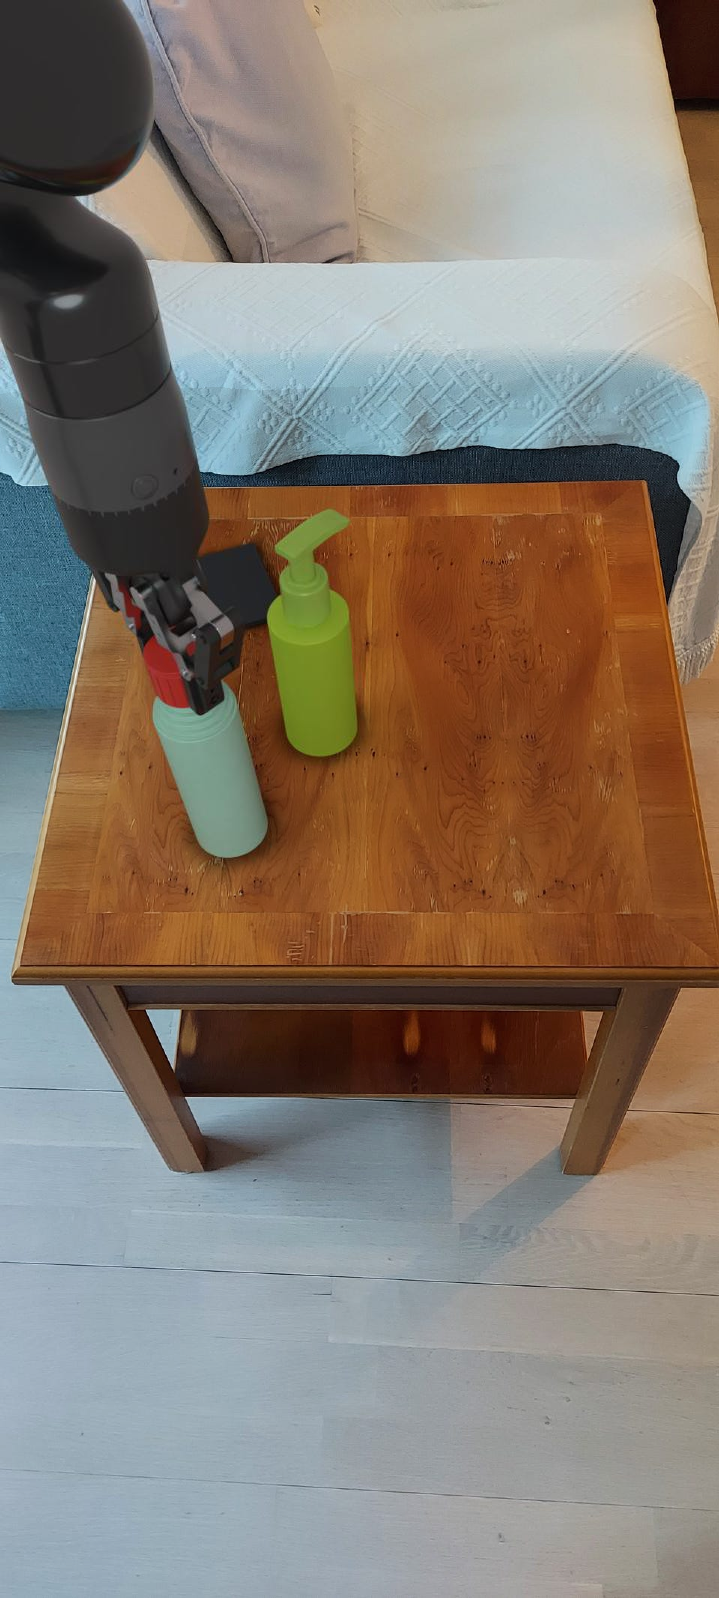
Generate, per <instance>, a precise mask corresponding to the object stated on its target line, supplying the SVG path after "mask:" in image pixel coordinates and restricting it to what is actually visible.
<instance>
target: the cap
mask: <svg viewBox="0 0 719 1598" xmlns="http://www.w3.org/2000/svg"><path fill="white" fill-rule="evenodd" d="M174 627H175V626H173V627H169V630H171V629H172V628H174ZM187 653H188V655H189V656H190V655H192V654H193V653H195V641H193V642H192V643H190V644H189V645H188V646H187ZM143 657H144V658H143ZM142 658H143V661H144V660H145V661H144V664H145V667H146V670H147V673H148V675H149V678H150V681H151V684H152V687H153V690H154V692H155V695H156V697H159V699H160V700H161V701H162V702H163V703H165V704H166V705H168V706H171V707H175V708H189V707H190V706H189V702H188V699H187V695H186V692H185V689H184V685H183V682H182V679H181V675H180V672H179V669H178V667H177V664H176V662H175V660H174V657H173V655H172V653H171V652H170V651H168V650H167V649H165V648H163V647H162V646H160V645H159V644H158V641H157V639H156V637H155V635H154V636H153V637H151V638H150V639H149V640H148V642H147V643H146V645H145V648H144V652H143V655H142Z"/></svg>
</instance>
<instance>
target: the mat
mask: <svg viewBox="0 0 719 1598" xmlns="http://www.w3.org/2000/svg"><path fill="white" fill-rule="evenodd" d="M197 561H198V562H199V565H200V567H201V570H202V572H203V575H204V576H205V578H206V581H207V584H208V594H207V597H208V598H209V599H210V600H211V601H212V602H213V603H214V604H215V606H216V607H217V608H218V609H219V610H220V611H221V612H222V613H223V612H224V611H226V610H227V609H229V608H230V607H232V606H234V607H236V608H237V609H238V610H239V611H240V612H241V613H242V615H243V617H244V620H245V629H248V628H252V627H255V626H258V625H262V624H266V623H268V622H267V613H268V610H269V607H270V606H271V604H272V603H273V601H274V600H275V599H276V598H277V597H278V596H279V595H278V594H277V591H276V590H275V587H274V585H273V582H272V581H271V578H270V576H269V574H268V571H267V570H266V567H265V564H264V562H263V559H262V558H261V555H260V553H259V551H258V548H257V546H256V544H255V542H250V543H246V544H241V545H238V546H234V547H231V548H227V549H224V550H219V551H217V552H216V551H215V552H213V553H208V554H205V555H201V556H197ZM178 625H179V624H178ZM176 626H177V625H176ZM172 627H173V626H172Z"/></svg>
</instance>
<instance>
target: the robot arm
mask: <svg viewBox="0 0 719 1598" xmlns="http://www.w3.org/2000/svg"><path fill="white" fill-rule="evenodd" d="M156 91H157V90H156V80H155V72H154V68H153V63H152V58H151V56H150V52H149V49H148V46H147V44H146V40H145V38H144V36H143V33H142V31H141V29H140V27H139V24H138V23H137V20H136V19H135V17H134V15H133V13H132V12H131V10H130V8H129V6H127V4H126V2H125V0H0V341H1V343H2V347H3V349H4V352H5V355H6V357H7V360H8V363H9V366H10V368H11V371H12V374H13V376H14V379H15V382H16V385H17V388H18V390H19V392H20V395H21V399H22V402H23V406H24V411H25V416H26V421H27V426H28V430H29V434H30V437H31V441H32V444H33V447H34V449H35V453H36V455H37V457H38V461H39V463H40V467H41V469H42V471H43V474H44V477H45V479H46V483H47V485H48V488H49V491H50V493H51V496H52V499H53V501H54V503H55V507H56V510H57V512H58V515H59V517H60V520H61V523H62V525H63V526H62V527H63V528H64V531H65V533H66V536H67V539H68V542H69V544H70V547H71V549H72V551H73V552H74V554H75V555H76V556H77V558H79V560H80V561H82V562H83V563H84V564H85V565H87V567H88V568H89V570H90V572H91V575H92V576H93V578H94V580H95V582H96V584H97V586H98V588H99V590H100V592H101V594H102V597H103V598H104V600H105V602H106V603H105V604H106V605H107V607H108V608H109V609H110V610H111V611H112V612H114V613H115V614H117V613H118V612H119V611H121V613H122V617H123V621H124V624H125V627H126V629H127V630H128V631H130V632H131V633H132V634H134V635H135V637H136V640H137V642H138V646H139V649H140V651H141V655H142V658H143V662H145V660H144V657H143V652H144V648H145V645H146V643H147V642H148V640H149V639H150V638H151V637H153V636H154V635H155V637H156V639H157V641H158V644H159V645H160V646H162V647H163V648H165V649H167V650H168V651H170V652H171V653H172V655H173V657H174V660H175V662H176V664H177V667H178V669H179V672H180V675H181V679H182V682H183V685H184V689H185V692H186V695H187V699H188V702H189V706H190V708H191V709H192V710H193V711H194V712H195V713H196V714H197V715H199V716H201V715H204V714H205V713H207V712H209V711H210V710H212V709H213V708H214V707H216V706H217V705H219V704H220V703H221V702H223V701H224V698H225V696H224V691H223V687H222V683H221V680H224V679H225V678H226V677H227V676H229V675H231V673H233V672H235V671H236V670H238V669H239V668H240V667H241V661H242V660H241V658H242V652H243V644H244V636H245V629H246V628H245V620H244V617H243V615H242V613H241V612H240V611H239V610H238V609H237V608H236V607H234V606H232V607H230V608H229V609H227V610H226V611H224V612H223V613H222V612H221V611H220V610H219V609H218V608H217V607H216V606H215V604H214V603H213V602H212V601H211V600H210V599H209V598H208V597H207V594H208V584H207V581H206V578H205V576H204V575H203V572H202V570H201V567H200V565H199V562H198V561H197V557H198V555H199V551H200V548H201V546H202V544H203V541H204V539H205V537H206V535H207V532H208V529H209V525H210V510H209V505H208V500H207V495H206V493H205V487H204V482H203V479H202V474H201V469H200V465H199V459H198V455H197V450H196V446H195V445H196V444H195V441H194V436H193V432H192V428H191V422H190V418H189V414H188V409H187V405H186V401H185V398H184V396H183V392H182V389H181V387H180V385H179V383H178V380H177V377H176V374H175V371H174V367H173V364H172V361H171V358H170V353H169V347H168V344H167V339H166V334H165V329H164V325H163V321H162V315H161V312H160V308H159V302H158V297H157V294H156V289H155V284H154V281H153V278H152V274H151V270H150V268H149V264H148V261H147V259H146V257H145V255H144V253H143V251H142V250H141V249H140V247H139V246H138V244H137V243H136V241H134V239H133V238H132V237H131V236H129V234H128V233H126V232H125V231H123V230H122V229H121V228H119V227H118V226H116V225H114V224H113V223H110V222H109V221H108V220H105V219H104V218H102V217H101V216H99V215H98V214H96V213H94V212H93V211H92V210H90V209H89V208H87V207H86V206H85V205H84V204H83V203H82V202H81V201H79V199H78V197H87V196H91V195H96V194H98V193H102V192H104V191H106V190H108V189H110V188H112V187H113V186H115V185H116V184H118V183H119V182H121V181H122V179H124V178H126V177H127V176H128V174H130V173H131V171H133V169H134V168H135V167H136V166H137V164H138V163H139V161H140V160H141V158H142V156H143V155H144V152H145V151H146V148H147V146H148V144H149V142H150V138H151V135H152V130H153V127H154V122H155V118H156V117H155V116H156V108H157V107H156V105H157V104H156V102H157V92H156ZM178 624H179V625H178ZM176 625H177V626H176ZM172 626H175V627H174V628H172V629H171V630H169V627H172ZM193 641H195V653H193V654H192V655H190V656H189V655H188V653H187V646H188V645H189V644H190V643H192V642H193Z"/></svg>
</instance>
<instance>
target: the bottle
mask: <svg viewBox="0 0 719 1598" xmlns="http://www.w3.org/2000/svg"><path fill="white" fill-rule="evenodd" d="M221 683H222V687H223V691H224V696H225V698H224V701H223V702H221V703H220V704H219V705H217V706H216V707H214V708H213V709H212V710H210V711H209V712H207V713H205V714H204V715H201V716H199V715H197V714H196V713H195V712H194V711H193V710H192V709H191V708H190V707H189V708H175V707H171V706H168V705H166V704H165V703H163V702H162V701H161V700H160V699H159V697H157V696H156V697H155V699H154V702H153V704H152V706H153V707H152V714H151V715H152V722H153V725H154V728H155V730H156V733H157V736H158V738H159V741H160V744H161V746H162V749H163V752H164V755H165V758H166V760H167V762H168V765H169V768H170V771H171V774H172V776H173V778H174V781H175V784H176V786H177V790H178V793H179V794H180V797H181V800H182V803H183V805H184V808H185V811H186V813H187V816H188V819H189V822H190V824H191V827H192V830H193V832H194V835H195V838H196V840H197V843H198V844H199V846H200V847H201V848H202V849H203V850H204V851H205V852H207V853H208V854H210V855H212V856H214V857H217V858H223V859H224V858H225V859H233V858H238V857H241V856H243V855H246V854H248V853H250V852H252V851H253V850H255V849H256V848H257V847H258V846H259V845H260V844H261V843H262V842H263V840H264V839H265V837H266V834H267V832H268V827H269V821H268V814H267V811H266V809H265V804H264V800H263V797H262V792H261V790H260V784H259V780H258V778H257V774H256V773H257V772H256V770H255V765H254V761H253V758H252V753H251V750H250V747H249V742H248V739H247V735H246V732H245V728H244V724H243V719H242V716H241V713H240V712H241V711H240V708H239V704H238V700H237V697H236V694H235V692H234V691H233V690H232V688H231V687H229V685H228V684H227V683H226V682H225V681H224V680H223V679H221Z"/></svg>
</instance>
